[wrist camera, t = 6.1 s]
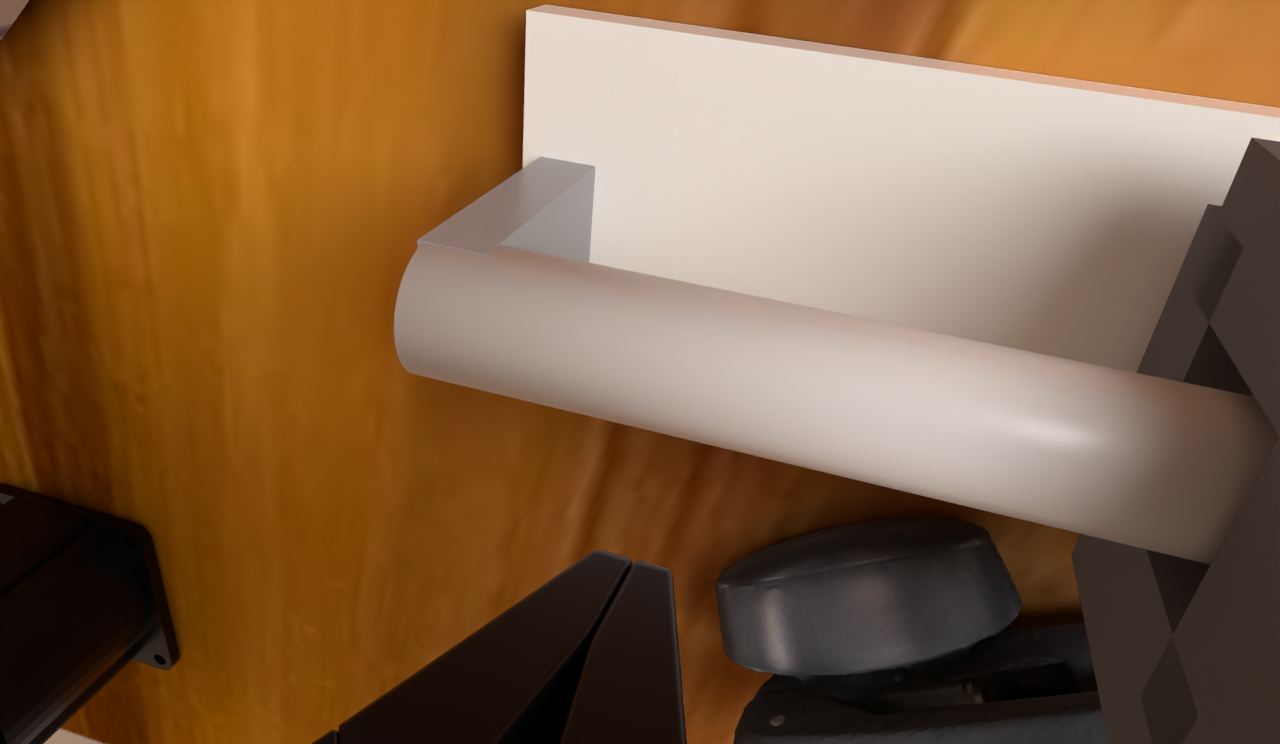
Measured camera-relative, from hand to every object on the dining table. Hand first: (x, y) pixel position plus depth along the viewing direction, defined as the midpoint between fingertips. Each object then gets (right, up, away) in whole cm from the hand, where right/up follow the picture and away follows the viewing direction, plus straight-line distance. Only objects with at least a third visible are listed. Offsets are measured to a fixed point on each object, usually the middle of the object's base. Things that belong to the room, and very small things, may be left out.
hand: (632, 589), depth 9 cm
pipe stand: (+7, +4, +9) cm, 12 cm away
